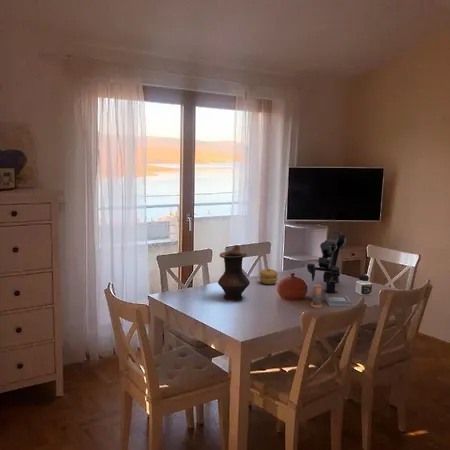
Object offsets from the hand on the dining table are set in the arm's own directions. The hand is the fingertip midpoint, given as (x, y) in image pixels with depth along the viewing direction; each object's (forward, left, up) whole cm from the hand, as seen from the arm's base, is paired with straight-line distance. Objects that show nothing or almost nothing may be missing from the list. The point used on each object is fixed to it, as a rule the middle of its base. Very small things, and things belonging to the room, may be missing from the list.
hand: (320, 282), depth 286 cm
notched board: (+1, +11, -12) cm, 17 cm away
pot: (-44, -18, -13) cm, 49 cm away
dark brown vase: (-15, -47, -13) cm, 51 cm away
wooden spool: (+5, -4, -13) cm, 14 cm away
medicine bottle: (-16, +35, -13) cm, 40 cm away
